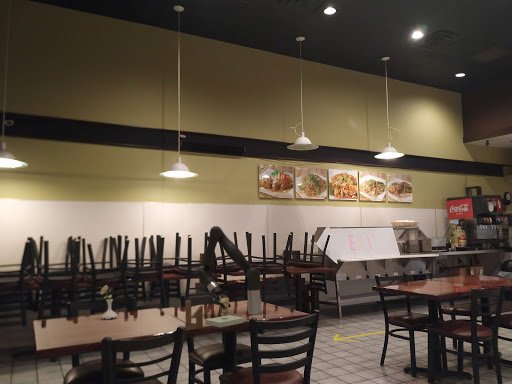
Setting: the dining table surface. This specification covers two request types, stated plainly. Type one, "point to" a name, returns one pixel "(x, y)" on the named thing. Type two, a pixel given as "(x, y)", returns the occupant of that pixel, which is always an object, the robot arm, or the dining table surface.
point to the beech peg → (226, 304)
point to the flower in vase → (109, 312)
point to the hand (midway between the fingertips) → (227, 307)
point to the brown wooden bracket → (197, 315)
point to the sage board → (224, 321)
